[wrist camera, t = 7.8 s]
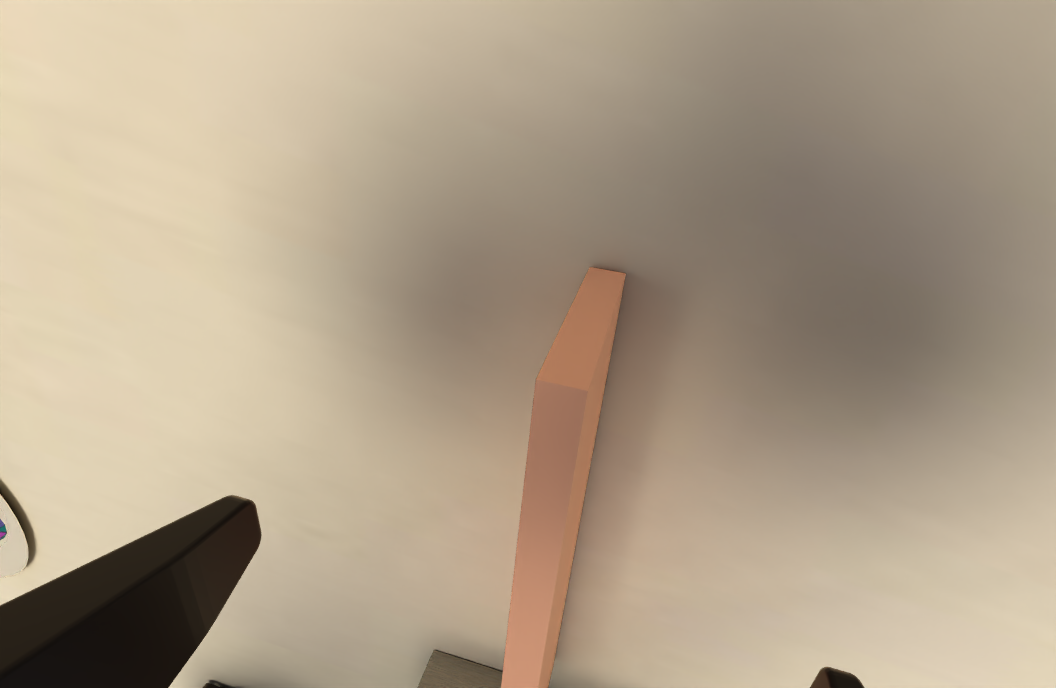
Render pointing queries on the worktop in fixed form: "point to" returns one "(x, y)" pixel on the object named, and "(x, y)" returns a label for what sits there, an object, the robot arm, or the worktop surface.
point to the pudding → (12, 544)
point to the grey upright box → (458, 673)
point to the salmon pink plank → (558, 476)
